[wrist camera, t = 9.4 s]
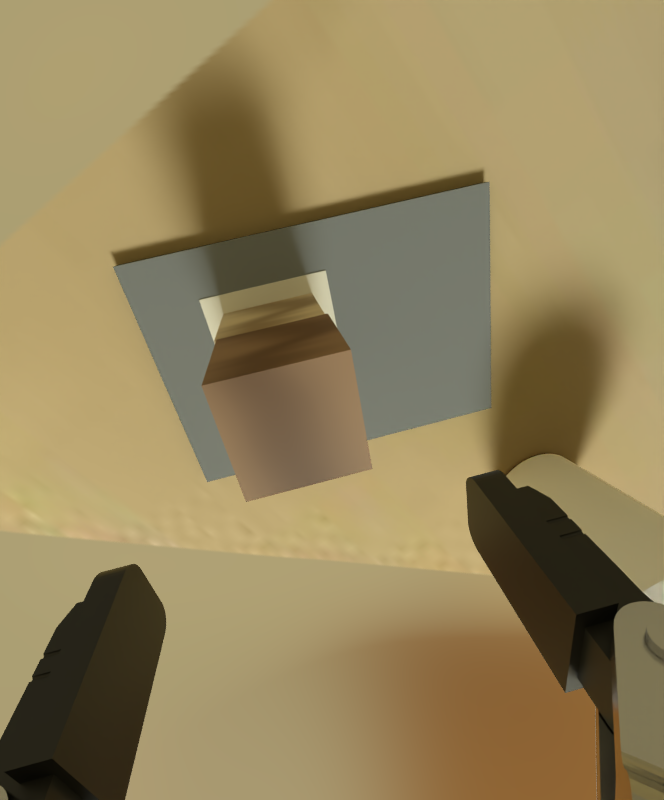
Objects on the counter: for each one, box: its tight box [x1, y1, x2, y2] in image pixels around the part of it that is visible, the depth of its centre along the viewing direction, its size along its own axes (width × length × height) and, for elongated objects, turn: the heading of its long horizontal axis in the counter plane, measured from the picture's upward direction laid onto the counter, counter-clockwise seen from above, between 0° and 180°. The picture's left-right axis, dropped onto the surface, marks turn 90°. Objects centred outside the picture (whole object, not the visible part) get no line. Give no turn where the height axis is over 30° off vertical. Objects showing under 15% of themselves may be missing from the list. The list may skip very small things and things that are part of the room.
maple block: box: [214, 293, 324, 343], centre depth 21 cm, size 5×5×5 cm
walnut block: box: [201, 314, 372, 502], centre depth 16 cm, size 5×5×5 cm
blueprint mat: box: [113, 182, 491, 482], centre depth 24 cm, size 20×14×1 cm
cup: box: [506, 454, 664, 604], centre depth 27 cm, size 9×9×12 cm
